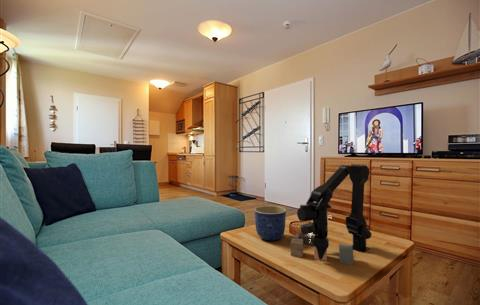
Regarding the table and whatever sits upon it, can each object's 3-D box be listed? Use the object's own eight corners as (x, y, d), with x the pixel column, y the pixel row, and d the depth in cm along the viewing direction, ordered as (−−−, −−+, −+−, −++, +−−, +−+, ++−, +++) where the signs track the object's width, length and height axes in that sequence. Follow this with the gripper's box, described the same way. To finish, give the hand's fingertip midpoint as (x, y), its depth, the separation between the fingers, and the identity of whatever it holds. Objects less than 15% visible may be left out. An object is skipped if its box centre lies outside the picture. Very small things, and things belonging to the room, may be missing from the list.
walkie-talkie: (296, 233, 129) (292, 247, 110) (296, 225, 129) (292, 238, 110) (312, 235, 127) (311, 250, 108) (312, 227, 126) (311, 241, 108)
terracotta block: (314, 254, 103) (314, 241, 103) (326, 255, 101) (326, 242, 101) (314, 259, 98) (314, 245, 98) (326, 261, 96) (326, 246, 96)
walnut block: (292, 251, 106) (292, 238, 106) (303, 252, 104) (303, 239, 104) (290, 255, 101) (290, 242, 101) (302, 257, 100) (302, 243, 100)
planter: (248, 236, 125) (248, 208, 125) (271, 229, 135) (271, 204, 134) (268, 246, 111) (268, 215, 111) (293, 239, 120) (292, 210, 120)
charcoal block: (338, 257, 99) (338, 243, 99) (351, 259, 98) (351, 245, 98) (339, 262, 95) (339, 248, 95) (353, 264, 93) (353, 250, 93)
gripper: (303, 211, 111) (303, 243, 111) (299, 223, 93) (299, 261, 94) (327, 213, 107) (327, 246, 107) (328, 226, 90) (328, 265, 90)
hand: (320, 254), depth 100 cm, fingers open, 9 cm apart
